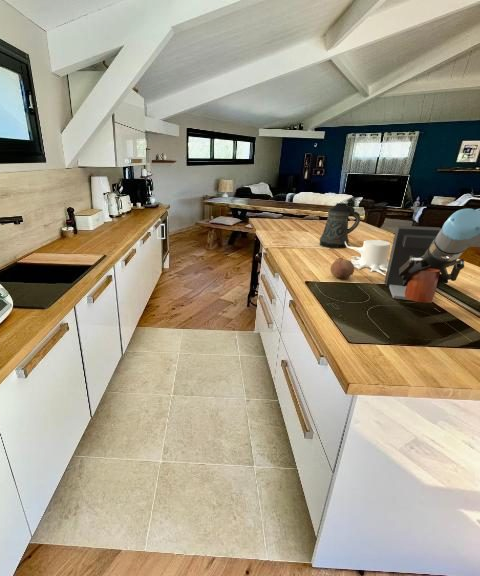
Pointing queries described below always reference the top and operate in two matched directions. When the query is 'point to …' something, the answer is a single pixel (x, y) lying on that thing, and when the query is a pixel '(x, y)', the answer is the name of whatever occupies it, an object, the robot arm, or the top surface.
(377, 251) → the tree stump
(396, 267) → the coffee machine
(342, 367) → the top surface
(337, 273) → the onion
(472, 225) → the robot arm
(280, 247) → the top surface
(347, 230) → the beer stein
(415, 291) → the terracotta cup
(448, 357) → the top surface
